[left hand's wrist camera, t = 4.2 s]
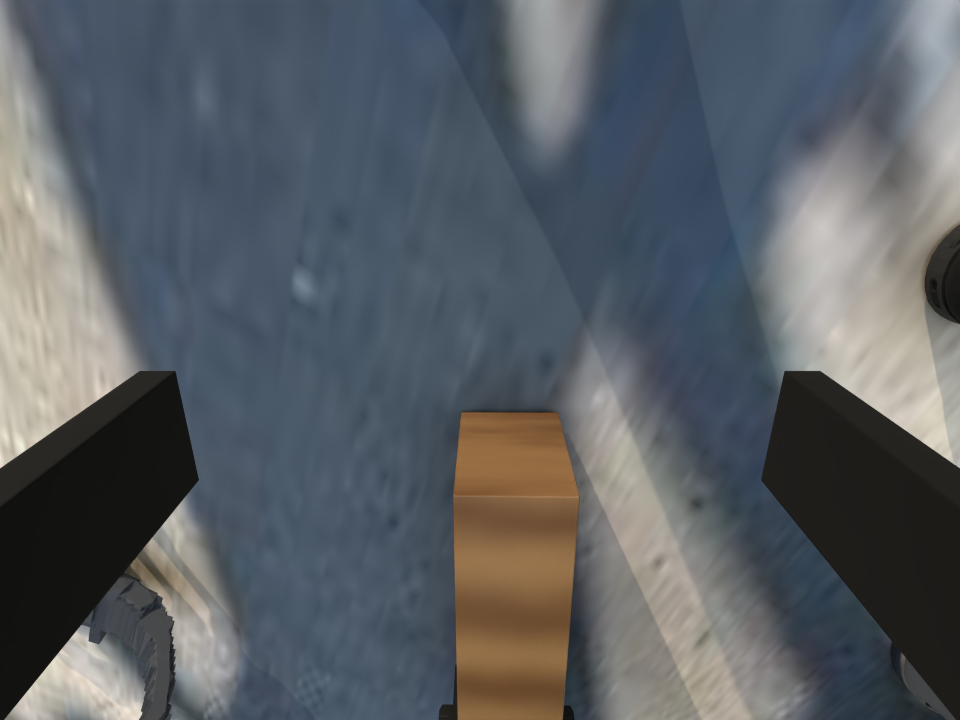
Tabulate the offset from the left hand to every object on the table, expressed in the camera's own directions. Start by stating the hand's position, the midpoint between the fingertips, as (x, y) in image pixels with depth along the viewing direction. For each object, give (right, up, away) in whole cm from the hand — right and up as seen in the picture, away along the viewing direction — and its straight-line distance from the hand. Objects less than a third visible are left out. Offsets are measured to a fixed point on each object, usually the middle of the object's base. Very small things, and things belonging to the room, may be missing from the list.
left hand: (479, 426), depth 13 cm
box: (+2, -17, +36) cm, 40 cm away
